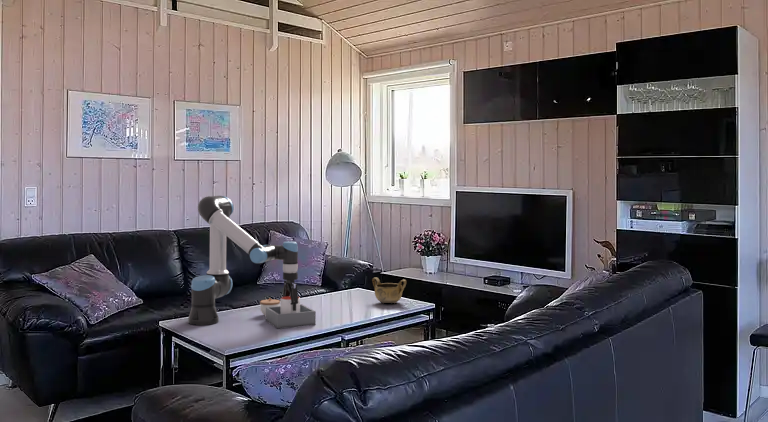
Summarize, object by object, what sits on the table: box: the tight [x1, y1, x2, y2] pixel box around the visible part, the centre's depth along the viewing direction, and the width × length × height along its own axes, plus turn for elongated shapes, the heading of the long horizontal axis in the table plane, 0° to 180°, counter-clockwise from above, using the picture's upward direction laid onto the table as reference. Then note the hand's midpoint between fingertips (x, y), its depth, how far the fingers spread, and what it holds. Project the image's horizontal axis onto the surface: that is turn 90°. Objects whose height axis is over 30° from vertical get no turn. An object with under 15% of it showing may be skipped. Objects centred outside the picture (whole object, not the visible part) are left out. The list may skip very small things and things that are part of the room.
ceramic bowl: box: [371, 277, 407, 304], centre depth 391 cm, size 22×17×15 cm
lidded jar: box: [259, 297, 280, 317], centre depth 355 cm, size 11×11×9 cm
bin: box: [265, 303, 317, 330], centre depth 338 cm, size 20×20×7 cm
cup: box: [279, 296, 301, 314], centre depth 337 cm, size 10×10×10 cm
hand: (290, 314), depth 338 cm, fingers closed on cup, 10 cm apart
